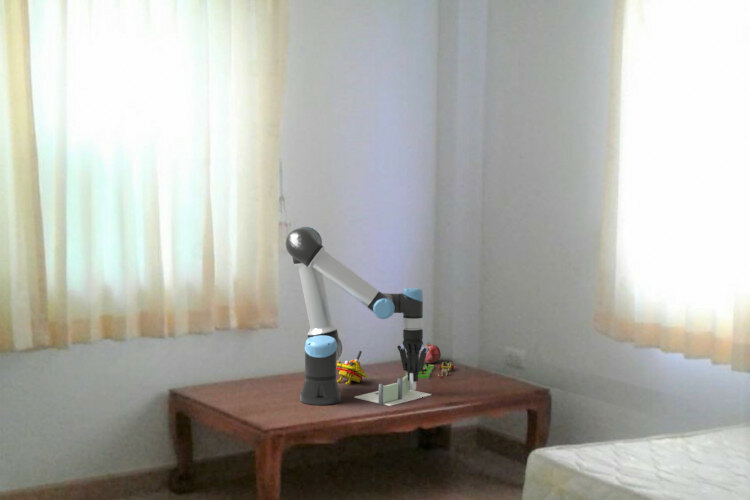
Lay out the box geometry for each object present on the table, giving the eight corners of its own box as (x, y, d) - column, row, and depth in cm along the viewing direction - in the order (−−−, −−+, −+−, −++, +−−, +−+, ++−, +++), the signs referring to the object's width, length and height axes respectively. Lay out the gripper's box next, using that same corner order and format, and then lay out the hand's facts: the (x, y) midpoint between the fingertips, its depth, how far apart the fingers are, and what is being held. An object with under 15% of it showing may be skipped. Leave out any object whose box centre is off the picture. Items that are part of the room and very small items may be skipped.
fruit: (442, 361, 416) (442, 339, 415) (438, 365, 407) (439, 343, 406) (422, 360, 418) (422, 338, 418) (418, 364, 409) (419, 342, 408)
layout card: (389, 406, 332) (389, 404, 332) (354, 397, 344) (354, 396, 344) (431, 395, 350) (431, 394, 350) (396, 387, 362) (396, 386, 362)
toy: (327, 377, 370) (341, 344, 374) (343, 386, 376) (357, 353, 380) (348, 383, 360) (363, 348, 364) (364, 392, 366) (378, 358, 370)
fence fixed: (381, 405, 333) (381, 383, 332) (377, 404, 334) (377, 382, 334) (403, 399, 342) (403, 378, 342) (399, 398, 343) (399, 377, 343)
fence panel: (402, 396, 343) (403, 378, 343) (398, 396, 344) (398, 378, 343) (410, 389, 354) (410, 372, 354) (406, 389, 355) (406, 372, 354)
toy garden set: (411, 367, 404) (411, 357, 403) (454, 369, 401) (454, 359, 400) (404, 378, 381) (404, 367, 381) (450, 380, 378) (450, 370, 378)
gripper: (432, 328, 347) (432, 389, 349) (403, 326, 354) (403, 386, 356) (422, 331, 341) (422, 393, 343) (393, 328, 348) (393, 389, 349)
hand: (412, 389), depth 349 cm, fingers closed
